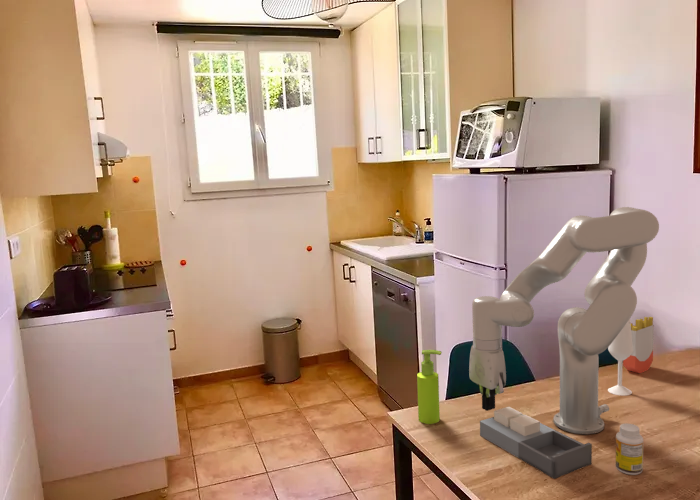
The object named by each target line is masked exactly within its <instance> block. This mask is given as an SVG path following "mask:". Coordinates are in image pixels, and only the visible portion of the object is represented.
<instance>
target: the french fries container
mask: <svg viewBox="0 0 700 500" xmlns="http://www.w3.org/2000/svg"><path fill="white" fill-rule="evenodd" d="M654 327H655V325H654V317H653V316H644V317H643V318H639V319H638V318H637V319H635V325H634V324H633V322H632V323H631V334H632V346H633V352H632V354H631V355H630V356H629V357H628V358H627V359H625V360H623V361H622V366H623V367H624V368H625V369H626V370H627V371H629V372H632V373H636V374H642V373H644V372H647V371H648V370H650V367H651V366H652V363H653V362H654V335H655V334H654V329H655V328H654Z"/></svg>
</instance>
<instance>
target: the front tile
mask: <svg viewBox="0 0 700 500" xmlns="http://www.w3.org/2000/svg"><path fill="white" fill-rule="evenodd" d="M540 423H541V421H540V420H537V419H535V418H533V417H531V416H529V415H527V414H523V415H522V416H519V417H516V418H512V419H510V429H512V430H514V431H516V432H518V433H520V434H522V435H523V436H527V435H530V434H533V433H536V432H539V431H540Z"/></svg>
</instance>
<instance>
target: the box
mask: <svg viewBox="0 0 700 500" xmlns="http://www.w3.org/2000/svg"><path fill="white" fill-rule="evenodd" d="M592 450H593V444H592V443H591V442H586V443H585V444H584V443H582V442H580V441H578V440H576V439H574V438H572V437H570V436H568V435H566V434H564V433H563V432H559V431H558V430H556V429H554V431H553V444H551V445H548V446H545V447H542V448H539V449H534V448H532V447H530V446H528V445H526V444H525V443H523V442H518V452H519V458H518V459H519V460H521V461H522V462H525V463H526V464H528V465H530V467H531V466H532V467H533V468H534V469H536V470H537V471H540V472H541V473H543V474H545V475H547V476H548V477H550V478H552V479H553V480H554V479H557V478H560V477H562V476H565V475H567V474H570V473H573V472H575V471H578V470H581V469H583V468H585V467H588V466H591V465H593V464H592V463H593V462H592V461H593V459H592V458H593V457H592V454H593V452H592Z"/></svg>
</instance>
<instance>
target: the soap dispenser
mask: <svg viewBox="0 0 700 500" xmlns="http://www.w3.org/2000/svg"><path fill="white" fill-rule="evenodd" d="M442 353H443V352H442V351H441V350H437V349H422V350H421V355H423V361H421V365H420V368H421V371H420V372H418V373H417V374H416V380H417V385H416V386H417V412H418V413H417V414H418V421H419V422H420V423H421V424H424V425H426V424H427V425H434V424H437V423H439V421H440V420H441V419H440V418H441V417H440V415H441V414H440V413H441V412H440V388H439V387H440V386H439V382H440V381H439V373H438V372H435V370H434V361H433V360H431V355H438V356H440V355H442Z"/></svg>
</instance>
